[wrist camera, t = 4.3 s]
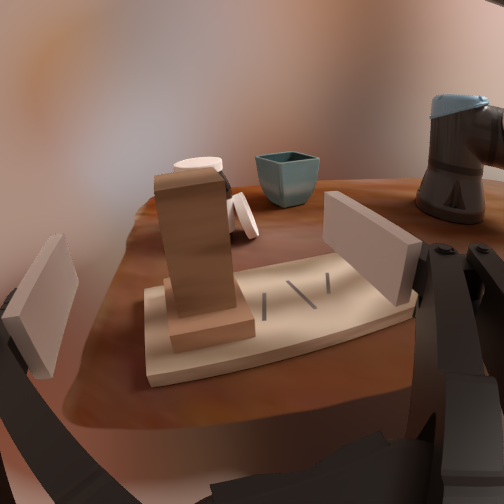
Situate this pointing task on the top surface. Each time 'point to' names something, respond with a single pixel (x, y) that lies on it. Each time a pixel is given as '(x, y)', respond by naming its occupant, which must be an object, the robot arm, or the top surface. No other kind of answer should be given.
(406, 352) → the top surface
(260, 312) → the plywood board
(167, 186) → the block
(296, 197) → the flower pot
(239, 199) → the spread jar
